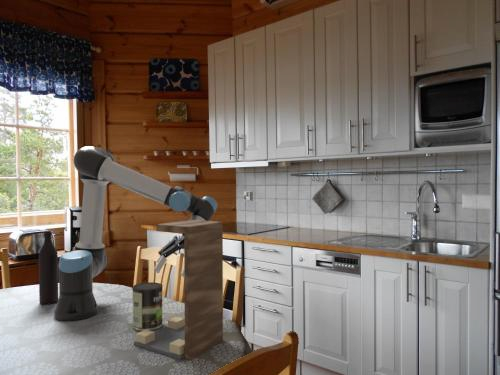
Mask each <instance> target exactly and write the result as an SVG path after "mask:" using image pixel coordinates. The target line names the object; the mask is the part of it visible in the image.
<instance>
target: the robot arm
mask: <svg viewBox="0 0 500 375" xmlns="http://www.w3.org/2000/svg"><path fill="white" fill-rule="evenodd" d="M73 165H74V168H75V170H76V171H77V172H78V173H79V174H80V178H79V179H80V180H81V182H82V183H83V191H82V192H83V193H82V204H81V205H82V206H81V217H80V229H79V230H80V231H79V239H78V240H79V241H78V242H76V243H75V245H74V250H71V251H67V252H65V253H63V254H61V256H59V258H58V301H57V302H56V305H55V308H54V315H53V316H54V318H55V319H56V320H58V321H64V322H67V321H79V320H84V319H88V318H91V317H93V316H95V315H96V314H97V313H98V310H99V309H98V306H99V305H98V303H97V301H96V298H95V295H94V291H93V284H94V283H93V278H95V277H97V276H99V275H100V274H101V273H102V272H103V270H105V268H106V266H107V261H108V260H107V259H108V258H107V254H106V253H105V252H106V245H105V244H104V243H103V241H102V240H103V228H104V227H103V226H104V215H105V206H106V204H105V203H106V189H107V185H108V184H109V183H112V184H115V185H117V186H119V187H121V188H123V189H126V190H129V191H130V192H133V193H136V194H139V195H140V196H142V197H145V198H148V199H150V200H152V201H155V202H157V203H159V204H162V205H164V206H165V207H169V208H170V209H172V210H173V211H175V212H178V213H179V212H180V213H181V212H188V213H190V214H191V217H190V218H189V220H203V221H212V218H213V216H214V214H215V212H216V211H217V208H218V202H217V200H215V198H213V197H211V196H207V195H205V196H203V197H202V198H200V197H198V196H196V195H195V194H193V193H191V191H188V190H187V189H185V188H182V187H180V186H179V185H178V186H175V187H173V186H171V185H168V184H166V183H164V182H161V181H159V180H156V179H154V178H152V177H150V176H147V175H145V174H143V173H140V172H137V171H136V170H135V169H131V168H129V167H127V166H124V165H122V164H120V163H117V162H116V161H115V158H114V156H113V155H112V153H110V151H108V150H107V149H104V148H102V147H101V148H100V147H97V146H96V147H95V146H90V145H89V146H83V147H81V148H79V149H78V150H76V151H75V153H74V157H73ZM181 250H184V234H183V233H181V236H179V237H178V236H177V235H175V236H173V238H172V239H171V240H170V241H169V242H168V243H167V244H165V245H164V246H163V247H162V248H161V249H160V250H159V251H158V255H159V258H158V260H157V261H156V264H155V266H154V267H153V271H154V272H155V273H157V274H159V273H160V272H161V271H162V269H163V267H164V265H165V263H166V262H167V261H168V260H167V259H168V258H169V257H170V256H171V255H173V254H175V253H176V252H177V251H181ZM180 275H181V276H182V278H184V267H183V268H182V270H181V272H180Z"/></svg>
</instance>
